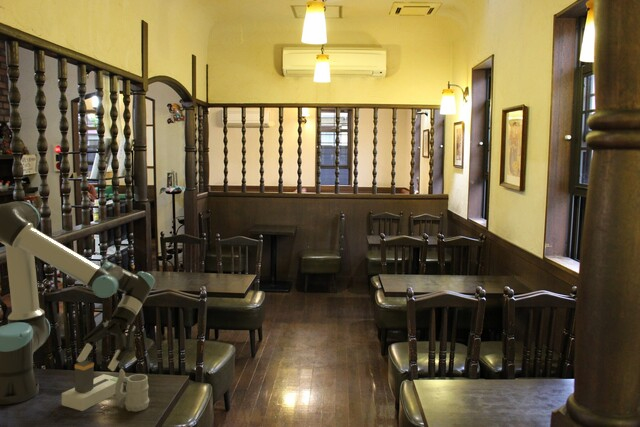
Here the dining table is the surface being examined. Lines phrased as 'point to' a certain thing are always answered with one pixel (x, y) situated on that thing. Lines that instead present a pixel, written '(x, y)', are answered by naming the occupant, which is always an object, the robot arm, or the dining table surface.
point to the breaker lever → (84, 376)
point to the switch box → (91, 393)
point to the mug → (133, 391)
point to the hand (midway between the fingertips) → (94, 365)
